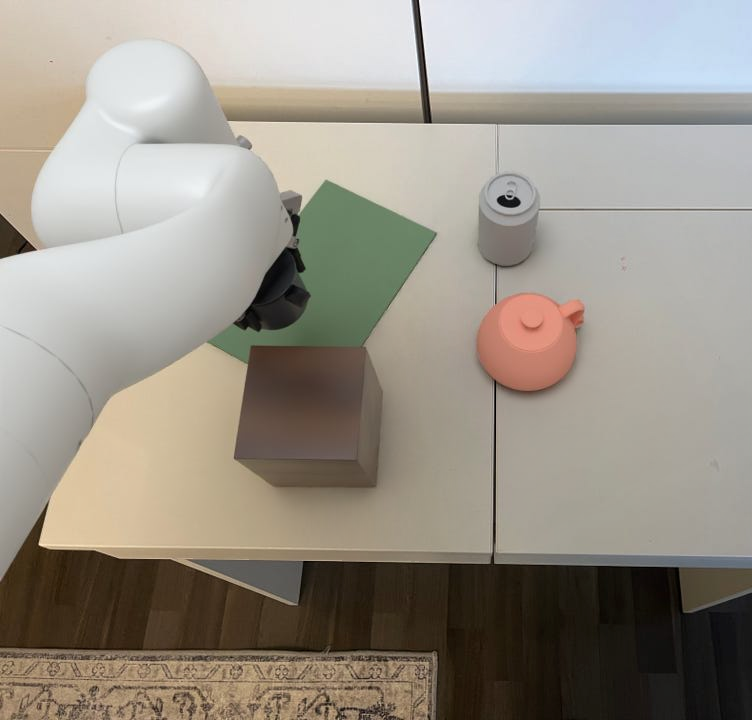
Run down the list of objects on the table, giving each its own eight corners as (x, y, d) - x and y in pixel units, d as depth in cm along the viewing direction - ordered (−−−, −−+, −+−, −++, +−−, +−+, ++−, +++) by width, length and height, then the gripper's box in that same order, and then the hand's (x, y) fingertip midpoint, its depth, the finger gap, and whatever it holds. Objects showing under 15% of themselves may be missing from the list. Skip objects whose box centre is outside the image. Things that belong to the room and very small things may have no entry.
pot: (297, 350, 68) (281, 324, 62) (213, 306, 70) (190, 278, 64) (335, 294, 71) (323, 264, 65) (254, 253, 72) (235, 221, 66)
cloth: (322, 405, 80) (322, 404, 80) (203, 340, 83) (202, 338, 83) (436, 234, 90) (436, 232, 89) (326, 181, 93) (325, 179, 92)
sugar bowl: (460, 330, 84) (459, 292, 75) (557, 289, 87) (568, 248, 77) (502, 413, 80) (507, 384, 71) (602, 368, 83) (619, 335, 73)
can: (473, 264, 88) (473, 212, 77) (482, 217, 91) (484, 161, 80) (528, 273, 88) (537, 222, 76) (536, 225, 90) (545, 170, 79)
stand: (376, 487, 77) (357, 460, 64) (273, 486, 77) (233, 458, 64) (382, 390, 81) (366, 346, 68) (285, 389, 81) (250, 345, 68)
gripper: (235, 99, 56) (289, 218, 72) (98, 253, 50) (190, 345, 67) (309, 133, 55) (346, 246, 71) (177, 296, 49) (251, 378, 65)
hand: (270, 293), depth 69 cm, fingers closed on pot, 7 cm apart
